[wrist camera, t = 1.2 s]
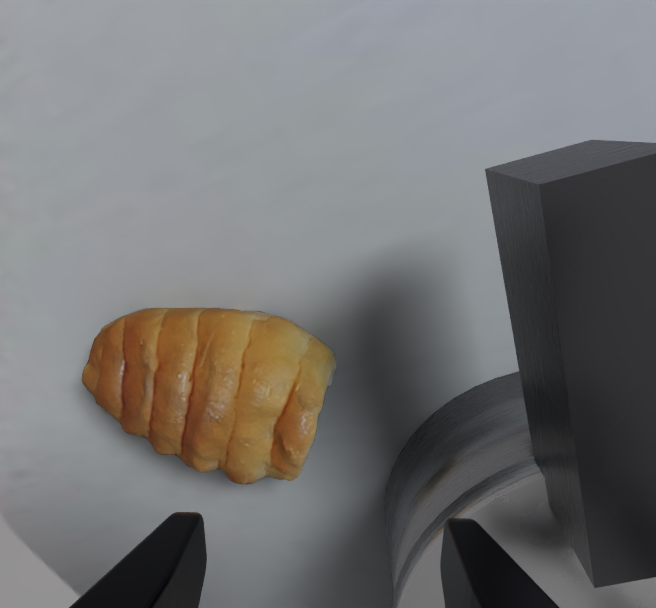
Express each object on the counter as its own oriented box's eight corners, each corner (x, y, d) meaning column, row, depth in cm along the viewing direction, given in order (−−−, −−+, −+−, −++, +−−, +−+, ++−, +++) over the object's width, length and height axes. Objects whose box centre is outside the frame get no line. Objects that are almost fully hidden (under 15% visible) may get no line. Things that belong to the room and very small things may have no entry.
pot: (958, 286, 19) (1166, 339, 14) (526, 699, 27) (567, 822, 22) (669, 85, 17) (798, 69, 12) (293, 597, 25) (282, 708, 20)
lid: (843, 69, 12) (1062, 43, 8) (810, 716, 19) (919, 852, 16) (261, 229, 13) (233, 266, 10) (435, 771, 21) (456, 907, 17)
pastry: (95, 412, 22) (46, 469, 18) (112, 265, 20) (61, 295, 16) (307, 461, 22) (301, 525, 19) (347, 323, 20) (349, 365, 17)
